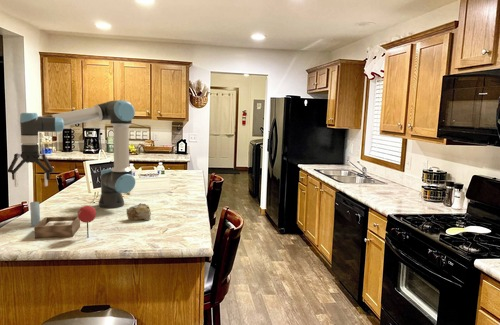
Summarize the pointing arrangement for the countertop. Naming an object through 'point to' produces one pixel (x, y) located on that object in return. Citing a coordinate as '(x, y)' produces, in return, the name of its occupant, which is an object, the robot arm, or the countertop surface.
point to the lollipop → (87, 215)
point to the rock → (139, 212)
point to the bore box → (57, 227)
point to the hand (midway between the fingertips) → (31, 186)
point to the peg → (35, 213)
